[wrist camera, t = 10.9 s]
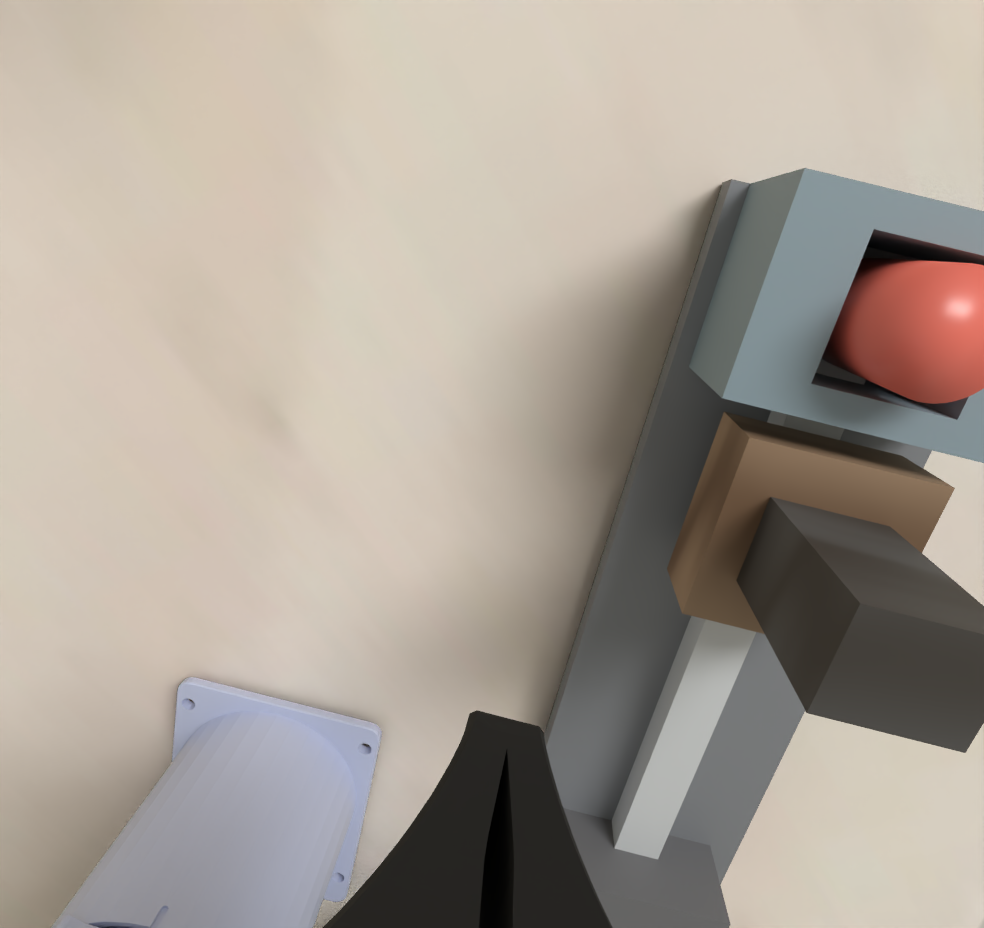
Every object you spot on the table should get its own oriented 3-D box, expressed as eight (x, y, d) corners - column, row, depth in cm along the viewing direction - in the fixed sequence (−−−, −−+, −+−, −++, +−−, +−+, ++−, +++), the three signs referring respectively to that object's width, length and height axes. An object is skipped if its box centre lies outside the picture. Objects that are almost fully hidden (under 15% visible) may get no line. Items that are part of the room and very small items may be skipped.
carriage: (829, 609, 20) (984, 817, 12) (667, 568, 20) (729, 753, 13) (902, 455, 18) (1128, 596, 11) (724, 411, 18) (833, 522, 11)
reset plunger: (890, 379, 17) (983, 417, 14) (787, 354, 17) (851, 385, 14) (938, 272, 16) (1052, 282, 13) (829, 245, 16) (910, 247, 13)
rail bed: (712, 865, 26) (746, 1003, 21) (517, 816, 26) (509, 942, 22) (1004, 250, 18) (1161, 255, 13) (722, 182, 18) (781, 162, 13)
